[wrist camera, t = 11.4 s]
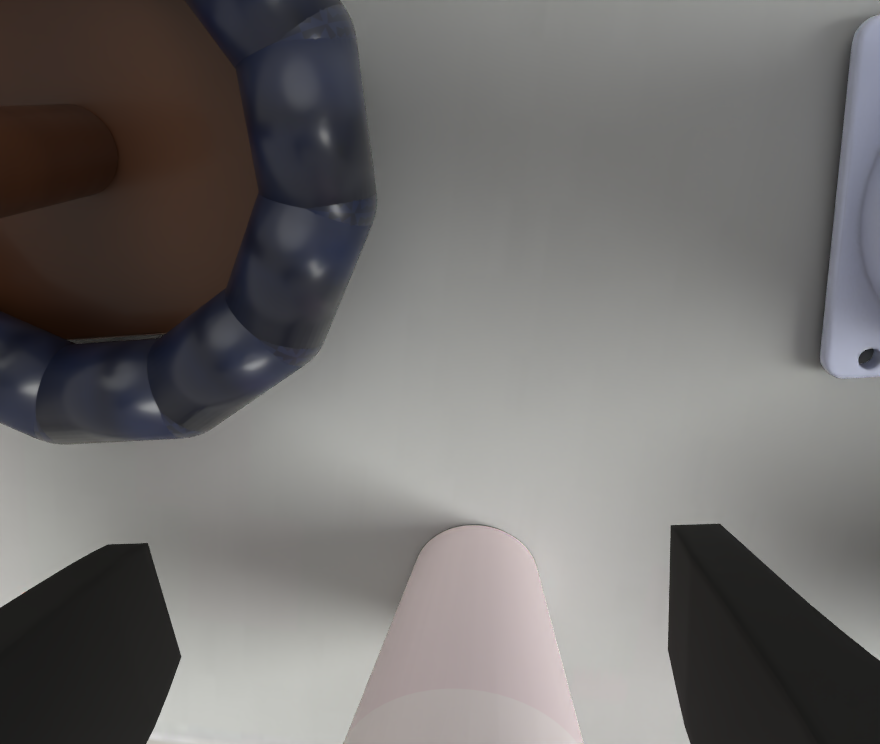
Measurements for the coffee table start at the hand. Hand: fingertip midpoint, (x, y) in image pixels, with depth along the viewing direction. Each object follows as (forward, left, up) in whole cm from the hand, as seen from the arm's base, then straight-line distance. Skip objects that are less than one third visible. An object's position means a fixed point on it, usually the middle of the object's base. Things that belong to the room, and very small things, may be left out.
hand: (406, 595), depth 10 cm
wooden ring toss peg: (+8, -6, -9) cm, 14 cm away
